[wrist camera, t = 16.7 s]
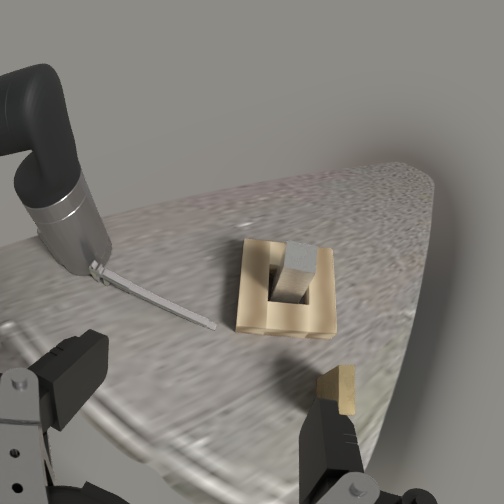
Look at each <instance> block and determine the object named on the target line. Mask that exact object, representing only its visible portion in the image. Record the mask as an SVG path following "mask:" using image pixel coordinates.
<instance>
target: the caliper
mask: <svg viewBox="0 0 504 504" xmlns="http://www.w3.org/2000/svg"><path fill="white" fill-rule="evenodd" d="M89 270H90V273H91V274H92V276H93V277H94V279H95V280H96V281H97V282H99V280H100V279H101V278H103V281H104V284H105V286H108V285H109V284H110V283H111V284H113V285H115V286H116V287H118V288H119V289H121V290H123V291H125V292H127V293H132V294H134V295H136V296H138V297H140V298H142V299H144V300H146V301H148V302H150V303H152V304H155V305H157V306H159V307H161V308H163V309H165V310H167V311H169V312H171V313H173V314H176V315H178V316H180V317H182V318H184V319H186V320H189V321H191V322H193V323H195V324H198V325H200V326H203V327H207V328H209V329H211V330H214V331H215V329H216V326H217V324H216V323H214V322H211V321H209V319H207V318H205V317H203V316H200V315H198V314H196V313H194V312H192V311H189V310H187V309H185V308H183V307H181V306H179V305H176V304H174V303H172V302H170V301H168V300H166V299H164V298H161V297H159V296H157V295H155V294H153V293H151V292H149V291H147V290H145V289H143V288H141V287H139V286H137V285H135V284H133V283H132V282H131V281H129V280H127V279H125V278H123V277H121V276H119V275H117V274H115V273H113V272H111V271H109V270H108V269H103V267H102V264H100V265H98V263H97V262H96V261H95V260H94V262H92V263H91V265H90V266H89Z"/></svg>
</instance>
